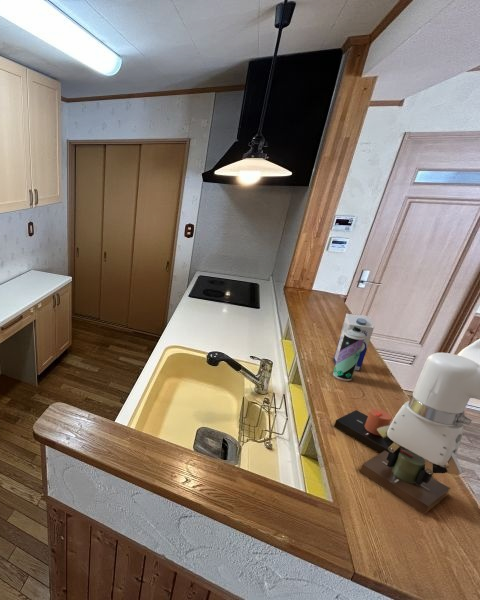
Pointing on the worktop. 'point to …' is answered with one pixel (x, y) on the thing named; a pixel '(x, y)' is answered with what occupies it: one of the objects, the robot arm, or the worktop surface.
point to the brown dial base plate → (404, 484)
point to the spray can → (349, 354)
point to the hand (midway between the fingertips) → (405, 472)
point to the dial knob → (377, 420)
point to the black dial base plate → (361, 431)
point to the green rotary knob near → (408, 466)
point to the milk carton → (366, 328)
